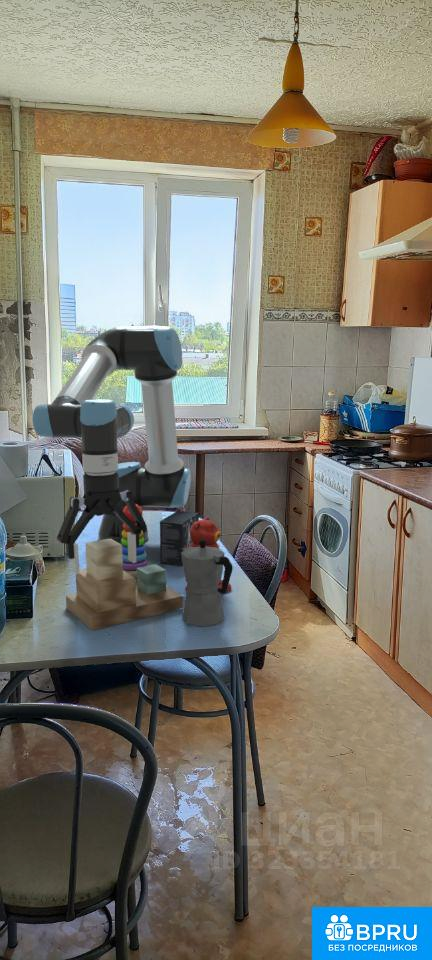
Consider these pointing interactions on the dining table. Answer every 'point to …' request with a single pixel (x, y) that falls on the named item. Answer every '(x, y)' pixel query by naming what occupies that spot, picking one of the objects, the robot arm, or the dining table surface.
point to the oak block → (104, 559)
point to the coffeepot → (204, 584)
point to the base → (128, 611)
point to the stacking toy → (140, 551)
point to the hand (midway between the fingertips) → (104, 566)
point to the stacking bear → (207, 532)
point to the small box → (175, 536)
